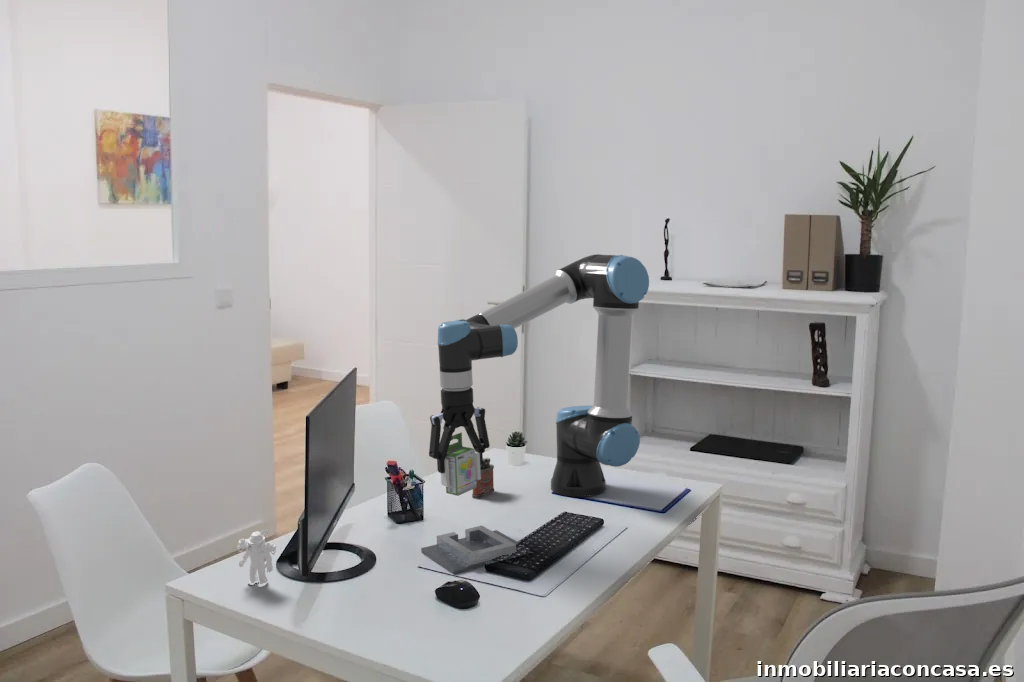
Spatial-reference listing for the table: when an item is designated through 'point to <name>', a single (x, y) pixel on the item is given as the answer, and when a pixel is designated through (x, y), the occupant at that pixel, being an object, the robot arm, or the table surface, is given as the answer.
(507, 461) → the table surface
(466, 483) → the ink box
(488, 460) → the lighter
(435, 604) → the table surface
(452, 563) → the chassis plate
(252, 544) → the flower shoulder figurine
